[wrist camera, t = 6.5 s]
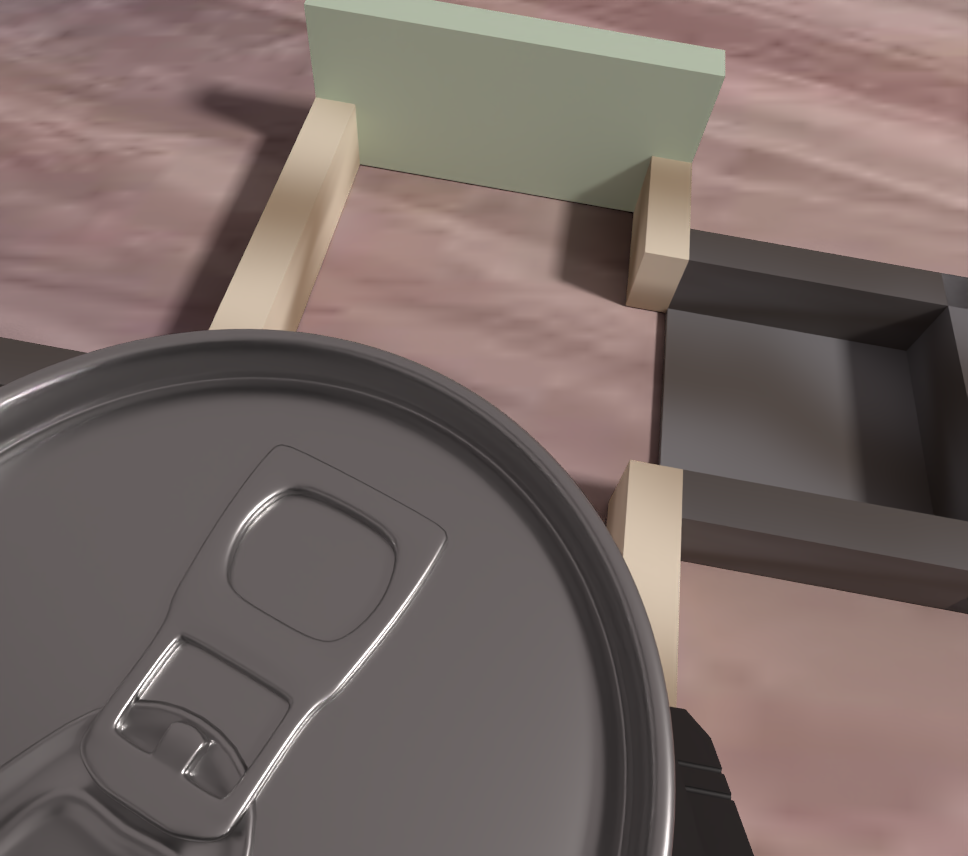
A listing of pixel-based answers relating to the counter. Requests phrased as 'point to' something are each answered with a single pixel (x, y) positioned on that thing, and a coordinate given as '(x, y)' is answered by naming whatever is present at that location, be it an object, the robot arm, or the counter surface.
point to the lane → (720, 393)
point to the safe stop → (511, 96)
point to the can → (310, 617)
